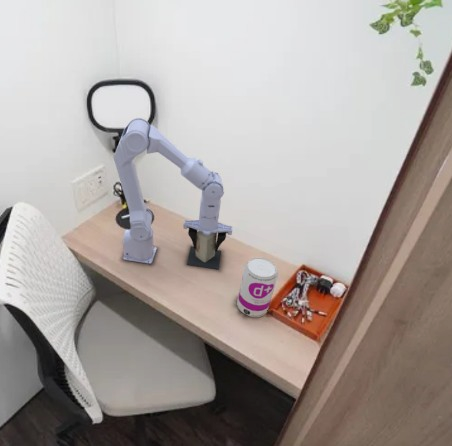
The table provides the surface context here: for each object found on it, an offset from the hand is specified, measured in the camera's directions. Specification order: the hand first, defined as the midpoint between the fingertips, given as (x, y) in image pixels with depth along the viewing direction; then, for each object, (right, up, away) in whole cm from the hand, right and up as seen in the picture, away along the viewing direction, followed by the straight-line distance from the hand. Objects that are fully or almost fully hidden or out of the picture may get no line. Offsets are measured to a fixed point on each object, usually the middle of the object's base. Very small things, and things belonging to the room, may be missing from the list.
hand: (205, 248), depth 107 cm
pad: (0, -3, +2) cm, 4 cm away
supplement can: (+10, -15, -15) cm, 23 cm away
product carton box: (0, -3, +2) cm, 4 cm away
